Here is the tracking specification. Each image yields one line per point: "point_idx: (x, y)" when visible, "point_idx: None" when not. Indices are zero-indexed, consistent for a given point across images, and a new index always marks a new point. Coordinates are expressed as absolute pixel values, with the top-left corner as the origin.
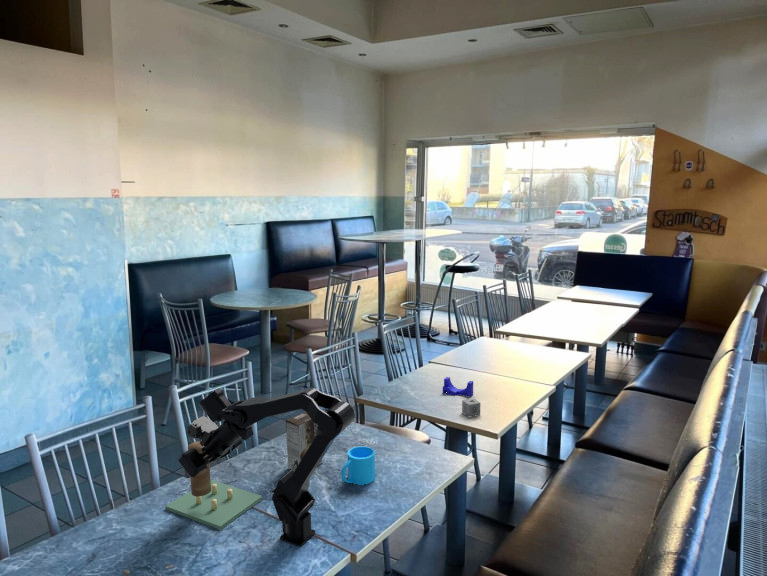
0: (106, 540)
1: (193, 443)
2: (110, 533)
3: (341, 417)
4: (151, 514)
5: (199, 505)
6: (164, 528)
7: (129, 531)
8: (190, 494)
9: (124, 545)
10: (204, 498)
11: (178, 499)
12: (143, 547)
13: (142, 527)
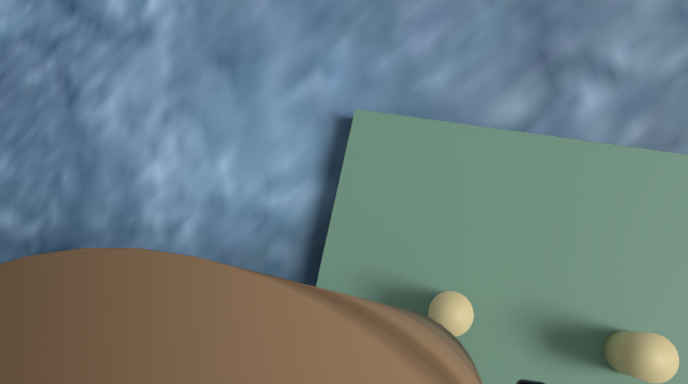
0: (50, 38)
1: (230, 380)
2: (100, 10)
3: None
4: (291, 76)
5: None
6: (187, 248)
7: (130, 84)
8: (538, 174)
9: (27, 149)
10: (527, 314)
11: (450, 136)
12: (24, 255)
13: (172, 122)
